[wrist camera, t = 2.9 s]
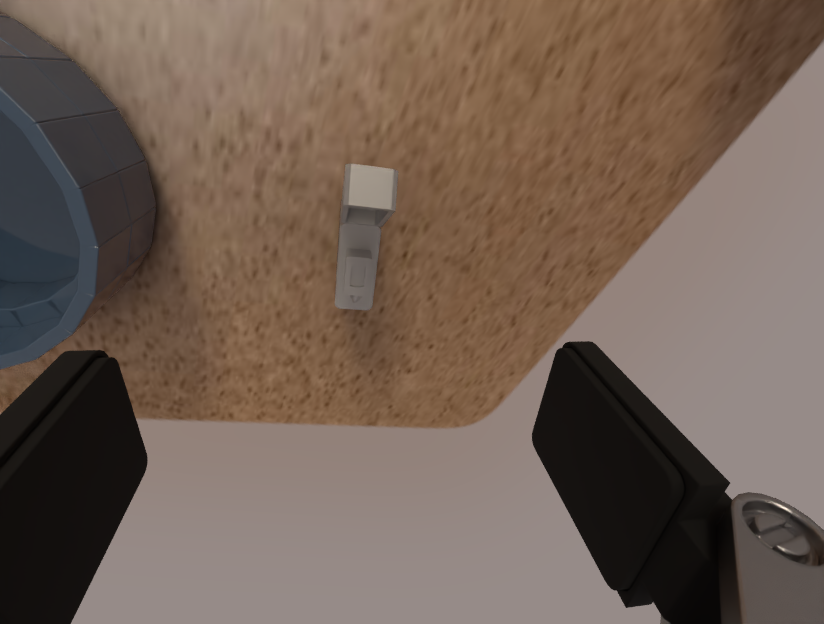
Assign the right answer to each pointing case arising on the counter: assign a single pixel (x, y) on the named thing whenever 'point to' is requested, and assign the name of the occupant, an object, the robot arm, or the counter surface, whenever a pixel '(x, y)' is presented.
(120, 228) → the bowl
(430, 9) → the counter surface
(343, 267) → the lighter
